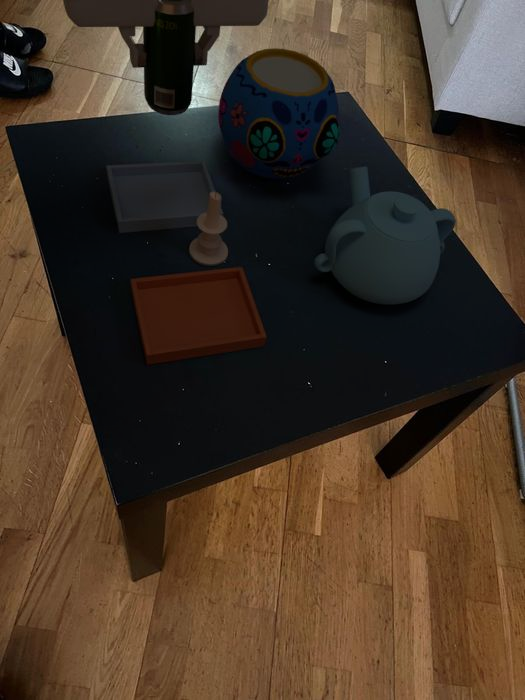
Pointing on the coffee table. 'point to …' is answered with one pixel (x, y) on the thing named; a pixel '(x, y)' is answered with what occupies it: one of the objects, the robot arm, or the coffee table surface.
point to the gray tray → (159, 194)
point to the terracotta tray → (196, 314)
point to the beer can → (170, 57)
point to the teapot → (385, 244)
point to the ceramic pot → (279, 113)
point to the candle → (210, 235)
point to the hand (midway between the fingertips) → (168, 63)
